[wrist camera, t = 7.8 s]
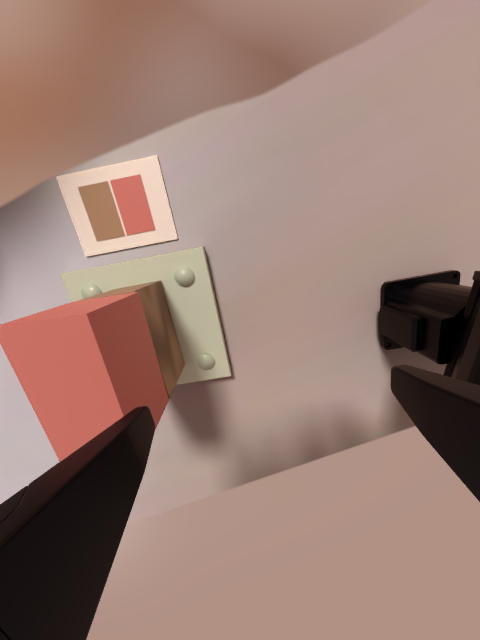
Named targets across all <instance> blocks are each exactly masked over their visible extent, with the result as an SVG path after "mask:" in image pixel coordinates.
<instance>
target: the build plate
mask: <svg viewBox="0 0 480 640" xmlns="http://www.w3.org/2000/svg"><path fill="white" fill-rule="evenodd" d="M60 275H61V278H62V280H63V282H64V285H65V287H66V289H67V292H68V294H69V297H70V299H71V301H72V302H75V301H79V300H82V299H85V298H88V297H91V296H94V295H98V294H101V293H104V292H107V291H110V290H114V289H118V288H123V287H128V286H134V285H139V284H144V283H150V282H155V281H160V280H161V282H162V285H163V289H164V292H165V296H166V299H167V303H168V306H169V310H170V313H171V317H172V320H173V324H174V327H175V331H176V334H177V338H178V341H179V345H180V348H181V352H182V355H183V359H184V362H185V366H184V368H183V371H182V373H181V375H180V377H179V379H178V382H177V384H176V385H180V384H186V383H192V382H198V381H204V380H210V379H216V378H222V377H228V376H231V367H230V363H229V358H228V354H227V349H226V344H225V340H224V335H223V331H222V326H221V322H220V317H219V312H218V308H217V303H216V299H215V294H214V290H213V285H212V280H211V276H210V271H209V267H208V262H207V258H206V253H205V248H204V247H198V248H192V249H187V250H182V251H177V252H172V253H166V254H161V255H156V256H151V257H146V258H140V259H135V260H130V261H125V262H120V263H114V264H109V265H104V266H99V267H94V268H88V269H83V270H78V271H73V272H68V273H62V274H60Z"/></svg>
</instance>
